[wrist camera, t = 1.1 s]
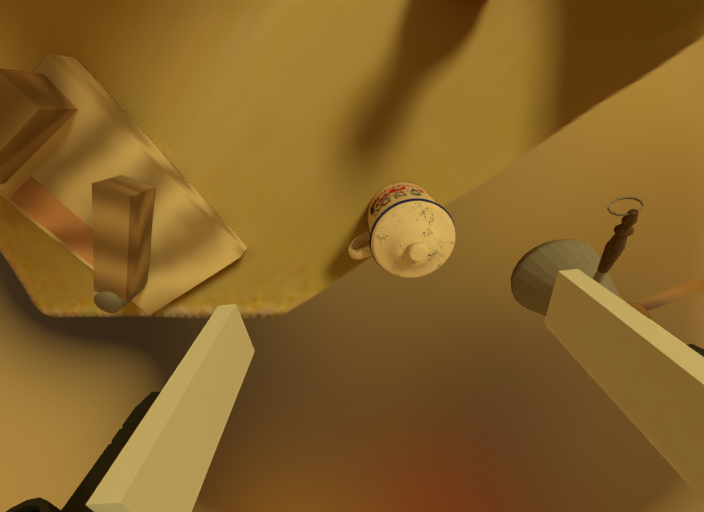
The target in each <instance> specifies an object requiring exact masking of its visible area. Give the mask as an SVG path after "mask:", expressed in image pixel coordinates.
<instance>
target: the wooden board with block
mask: <svg viewBox="0 0 704 512" xmlns="http://www.w3.org/2000/svg"><path fill="white" fill-rule="evenodd" d="M119 175H123V176H125V177H128V178H131V179H134V180H136V181H139V182H142V183H145V184H147V185H150V186H153V187H155V191H154V203H153V214H152V226H151V238H150V250H149V262H148V274H147V282H146V283H145V284H144V289H143V290H142V291H141V292H140V293H139V294H138V295H137V296H135V297H134V298H133V299H132V300H131V301H132V302H133V303H135V304H136V305H137V306H138V307H140V308H141V309H142V310H143V311H145V312H146V313H147V314H148V315H151V314H152V313H154V312H156V311H157V310H159V309H160V308H162V307H163V306H165V305H166V304H168V303H170V302H171V301H173V300H174V299H176V298H177V297H179V296H181V295H182V294H184V293H185V292H187V291H188V290H190V289H192V288H193V287H195V286H196V285H198V284H199V283H201V282H203V281H204V280H206V279H207V278H209V277H210V276H212V275H213V274H215V273H217V272H218V271H220V270H221V269H223V268H224V267H226V266H228V265H229V264H231V263H232V262H234V261H235V260H237V259H239V258H240V257H241V256H242V254H243V253H244V252H245V250H246V249H247V248H248V247H247V246H246V245H245V244H244V243H243V242H242V241H241V240H240V238H239V237H238V236H237V235H236V234H235V233H234V232H233V231H232V230H231V229H230V227H229V226H228V225H227V224H226V223H225V222H224V221H223V220H222V219H221V217H220V216H219V215H218V214H217V213H216V212H215V211H214V210H213V209H212V208H211V206H210V205H209V204H208V203H207V202H206V201H205V200H204V199H203V198H202V197H201V195H200V194H199V193H198V192H197V191H196V190H195V189H194V188H193V187H192V185H191V184H190V183H189V182H188V181H187V180H186V179H185V178H184V177H183V176H182V174H181V173H180V172H179V171H178V170H177V169H176V168H175V167H174V166H173V164H172V163H171V162H170V161H169V160H168V159H167V158H166V157H165V156H164V155H163V153H162V152H161V151H160V150H159V149H158V148H157V147H156V146H155V145H154V144H153V142H152V141H151V140H150V139H149V138H148V137H147V136H146V135H145V134H144V132H143V131H142V130H141V129H140V128H139V127H138V126H137V125H136V124H135V123H134V121H133V120H132V119H131V118H130V117H129V116H128V115H127V114H126V113H125V112H124V110H123V109H122V108H121V107H120V106H119V105H118V104H117V103H116V102H115V100H114V99H113V98H112V97H111V96H110V95H109V94H108V93H107V92H106V91H105V89H104V88H103V87H102V86H101V85H100V84H99V83H98V82H97V81H96V80H95V78H94V77H93V76H92V75H91V74H90V73H89V72H88V71H87V70H86V68H85V67H84V66H83V65H82V64H81V63H80V62H79V61H78V60H77V59H76V58H73V57H67V56H62V55H57V54H51V53H48V54H47V55H46V56H45V57H44V58H43V60H42V61H41V62H40V63H39V64H38V65H37V67H36V68H35V69H34V70H33V71H32V72H23V71H14V70H6V69H0V196H1V197H2V198H3V199H4V200H6V201H7V202H8V203H9V204H11V205H12V206H13V207H14V208H16V209H17V210H18V211H19V212H21V213H22V214H23V215H24V216H26V217H27V218H28V219H29V220H31V221H32V222H33V223H34V224H36V225H37V226H38V227H39V228H41V229H42V230H43V231H44V232H46V233H47V234H48V235H49V236H51V237H52V238H53V239H54V240H56V241H57V242H58V243H59V244H61V245H62V246H63V247H64V248H66V249H67V250H68V251H69V252H71V253H72V254H73V255H74V256H76V257H77V258H78V259H79V260H81V261H82V262H83V263H85V264H86V265H87V266H88V267H90V268H91V269H92V270H93V271H94V268H93V222H92V183H94V182H98V181H101V180H105V179H109V178H112V177H116V176H119Z"/></svg>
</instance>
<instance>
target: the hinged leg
mask: <svg viewBox="0 0 704 512" xmlns="http://www.w3.org/2000/svg"><path fill="white" fill-rule="evenodd" d="M154 191H155V187H153V186H150V185H147V184H145V183H142V182H139V181H136V180H134V179H131V178H128V177H125V176H123V175H119V176H116V177H112V178H109V179H105V180H101V181H98V182H94V183H92V222H93V268H94V291H97V292H100V293H98V294H97V295H96V296H95V297H94V302H95V304H96V305H97V306H98V307H99V308H100V309H101V310H103V311H105V312H109V313H116V312H118V311H119V310H120V309H122V308H123V307H124V306H125V305H126V304H127V303H128V302H130V301H131V300H132V299H133V298H134V297H135V296H137V295H138V294H139V293H140V292H141V291H142V290H143V289H144V284H145V283H146V282H147V274H148V262H149V250H150V238H151V226H152V214H153V203H154Z"/></svg>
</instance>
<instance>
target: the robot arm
mask: <svg viewBox="0 0 704 512" xmlns="http://www.w3.org/2000/svg"><path fill="white" fill-rule="evenodd" d="M544 324H545V326H546V327H547V328H548V329H549V330H550V331H551V332H552V333H553V335H554V336H555V337H556V338H557V339H558V340H559V341H560V342H561V343H562V345H563V346H564V347H565V348H566V349H567V350H568V351H569V352H570V353H571V355H572V356H573V357H574V358H575V359H576V360H577V361H578V362H579V363H580V365H582V367H583V368H584V369H585V370H586V371H587V372H588V373H589V375H590V376H591V377H592V378H593V379H594V380H595V381H596V382H597V383H598V385H599V386H600V387H601V388H602V389H603V390H604V391H605V392H606V394H607V395H608V396H609V397H610V398H611V399H612V400H613V401H614V402H615V403H616V405H617V406H618V407H619V408H620V409H621V410H622V411H623V412H624V414H625V415H626V416H627V417H628V418H629V419H630V420H631V421H632V422H633V424H634V425H636V427H637V428H638V429H639V430H640V431H641V432H642V433H643V435H644V436H645V437H646V438H647V439H648V440H649V441H650V442H651V444H652V445H654V447H655V448H656V449H657V450H658V451H659V452H660V453H661V455H662V456H663V457H664V458H665V459H666V460H667V461H668V462H669V464H670V465H671V466H672V467H673V468H674V469H675V470H676V471H677V472H678V473H679V475H680V476H681V477H682V478H683V479H684V480H685V481H686V482H687V484H688V485H689V486H690V487H691V488H692V489H693V490H694V491H695V492H696V494H697V495H698V496H699V497H700V498H701V499H702V500H703V501H704V349H701V348H699V347H697V346H695V345H693V344H687V345H686V344H684V343H683V342H681V341H680V340H679V339H677V338H676V337H674V336H673V335H672V334H670V333H669V332H667V331H666V330H664V329H663V328H662V327H660V326H659V325H657V324H656V323H654V322H653V321H652V320H650V319H649V318H647V317H646V316H645V315H643V314H642V313H640V312H639V311H637V310H636V309H635V308H633V307H632V306H630V305H629V304H627V303H626V302H624V301H623V300H622V299H620V298H619V297H617V296H616V295H615V294H613V293H612V292H610V291H609V290H608V289H606V288H605V287H603V286H602V285H600V284H599V283H598V282H596V281H595V280H593V279H592V278H590V277H589V276H588V275H586V274H585V273H583V272H582V271H581V270H579V269H572V270H562V271H558V273H557V277H556V281H555V285H554V288H553V292H552V296H551V299H550V303H549V307H548V311H547V314H546V318H545V322H544ZM253 354H254V348H253V346H252V343H251V341H250V338H249V335H248V333H247V331H246V328H245V326H244V323H243V320H242V318H241V315H240V313H239V310H238V308H237V305H236V304H231V305H222V306H218V307H217V309H216V310H215V312H214V313H213V315H212V316H211V318H210V319H209V321H208V322H207V324H206V325H205V327H204V328H203V330H202V331H201V333H200V334H199V336H198V337H197V339H196V340H195V342H194V343H193V345H192V346H191V348H190V349H189V351H188V352H187V354H186V355H185V357H184V358H183V360H182V361H181V363H180V364H179V366H178V367H177V369H176V370H175V371H174V373H173V374H172V376H171V377H170V379H169V380H168V382H167V383H166V385H165V387H164V388H163V389H162V391H161V392H152V393H151V394H150V395H149V396H147V397H146V398H145V399H144V400H143V401H142V402H141V403H140V404H139V405H138V406H137V407H135V409H134V410H133V411H132V413H131V414H130V416H129V417H128V418H127V420H126V421H125V423H124V424H123V428H122V429H120V430H119V431H118V432H117V434H116V435H115V437H114V438H113V440H112V443H111V444H109V445H108V447H107V448H106V449H105V450H104V452H103V453H102V455H101V456H100V457H99V459H98V460H97V462H96V463H95V464H94V466H93V467H92V469H91V470H90V471H89V473H88V474H87V476H86V477H85V478H84V480H83V481H82V482H81V484H80V485H79V487H78V488H77V490H76V491H75V492H74V494H73V495H72V496H71V498H70V499H69V501H68V502H67V503H66V505H65V506H64V507H63V509H62V510H59V509H58V508H57V507H55V506H54V505H52V504H51V503H50V502H48V501H47V500H44V499H42V498H35V499H30V500H26V501H24V502H22V503H20V504H18V505H16V506H14V507H12V508H11V509H9V510H8V511H6V512H191V511H192V509H193V506H194V504H195V501H196V499H197V496H198V494H199V491H200V489H201V486H202V483H203V480H204V478H205V476H206V473H207V471H208V468H209V466H210V463H211V460H212V458H213V456H214V453H215V450H216V447H217V445H218V443H219V440H220V438H221V435H222V433H223V430H224V428H225V425H226V423H227V420H228V417H229V414H230V412H231V410H232V407H233V404H234V402H235V400H236V397H237V394H238V392H239V389H240V387H241V384H242V382H243V379H244V377H245V374H246V372H247V369H248V367H249V364H250V362H251V359H252V356H253Z"/></svg>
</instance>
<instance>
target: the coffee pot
mask: <svg viewBox="0 0 704 512" xmlns="http://www.w3.org/2000/svg"><path fill="white" fill-rule="evenodd" d="M622 199H634V200H637V201H639V202H640V203H641V205H642V207H641V208H640V209H639V210H635V209H631V210H629V211H628V213H626V214H617V213H615V212H613V211H611V209H610V205H611V204H612V203H614V202H615V201H617V200H622ZM643 206H644V203H643V201H642V200H641V199H638V198H636V197H622V198H617V199H615V200H613V201H612V202H610V204H609V206H608V208H607V209H608V210H609V212H610V213H611V214H614V215H616V216H624V217H623V218H622V224H620V225H617V226H616V227H615V228H614V232H615V235H614V236H613V237H612V238H611V239H610V241H609V242H608V243H607V244H606V246H605V249H604V251H603V254H602V257H601V260H600V258H599V256H598V254H597V253H596V252H595V250H594V249H593V248H592V247H590V246H589V245H587V244H586V243H584V242H580V241H576V240H554V241H550V242H546V243H543V244H541V245H539V246H537V247H535V248H533V249H532V250H531V251H529V252H528V253H526V254H525V255H524V256H523V257H522V258H521V260H520V261H519V262H518V263H517V265H516V267H515V268H514V270H513V273H512V277H511V288H512V293H513V295H514V297H515V299H516V300H517V301H518V302H519V303H520V304H521V305H522V306H524V307H526V308H528V309H530V310H532V311H535V312H537V313H540V314H542V315H545V316H546V314H547V311H548V307H549V303H550V299H551V296H552V292H553V288H554V285H555V281H556V277H557V273H558V271H562V270H572V269H579V270H581V271H582V272H583V273H585V274H586V275H588V276H589V277H590V278H592V279H593V280H595V281H596V282H598V283H599V284H600V285H602V286H603V287H605V288H606V289H608V290H609V291H610V292H612V293H613V294H615V295H616V296H617V297H619V298H620V296H619V294H618V292H617V290H616V288H615V287H614V284H613V283H612V281H611V279H610V277H609V275H608V273H607V272H608V271H609V270H610V268H611V267H612V266H613V264H614V263H615V261H616V260H617V259H618V257H619V256H620V254H621V253H622V251H623V250H624V249H625V244H626V240H627V236H630V235H632V234H633V232H634V229H633V227H632V225H634V224H635V223H636V222H637V219H638V213H639V211H641V209H642V208H643ZM620 299H621V298H620ZM626 303H627V304H629V305H630V306H632V307H633V308H635V309H636V310H637V311H639V312H640V313H642V314H643V315H645V316H646V317H647V318H649V319H651V316H650V314H649V313H648V311H647V310H646V309H645V308H644V307H642V306H640V305H639V304H636V303H631V302H626Z"/></svg>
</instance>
